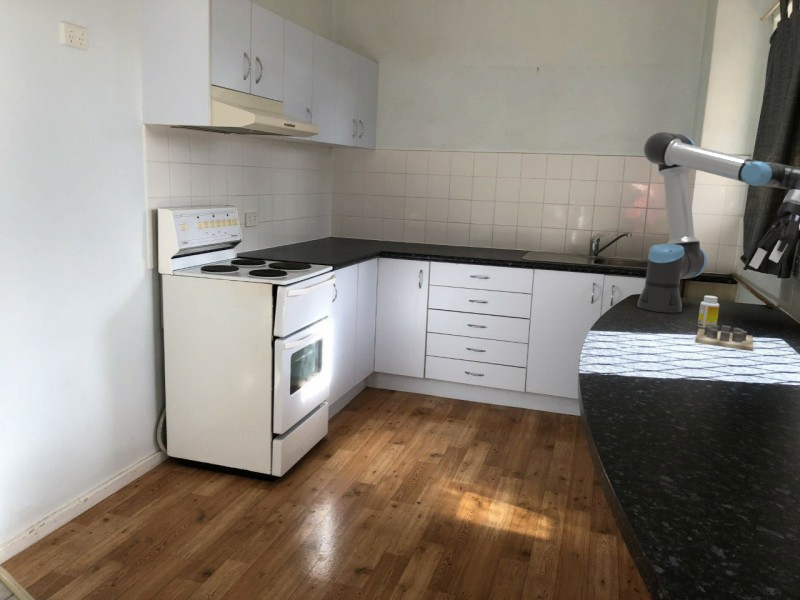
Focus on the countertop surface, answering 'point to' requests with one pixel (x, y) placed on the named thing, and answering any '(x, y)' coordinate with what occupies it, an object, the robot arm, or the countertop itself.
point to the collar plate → (723, 343)
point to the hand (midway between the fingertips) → (762, 264)
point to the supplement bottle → (708, 312)
